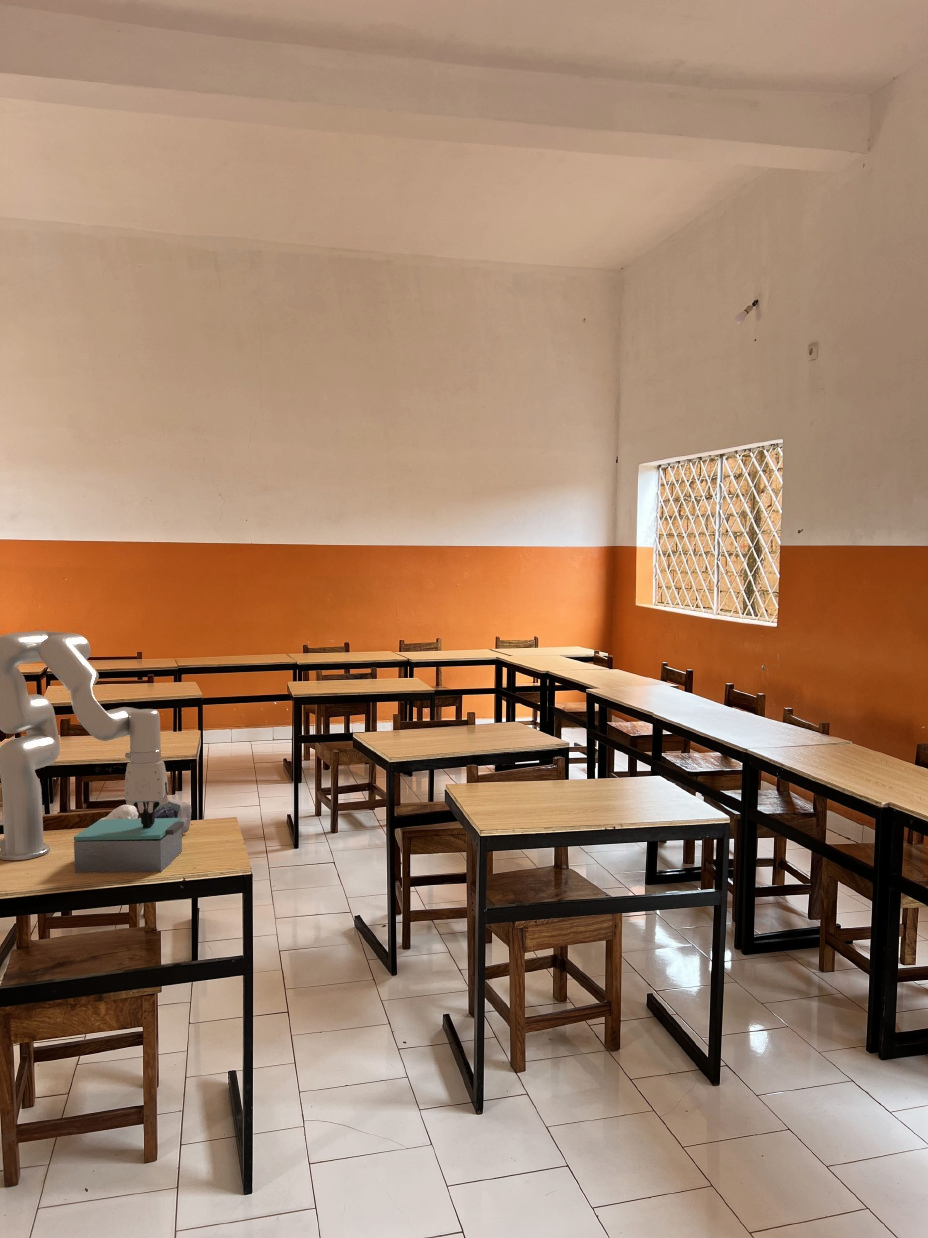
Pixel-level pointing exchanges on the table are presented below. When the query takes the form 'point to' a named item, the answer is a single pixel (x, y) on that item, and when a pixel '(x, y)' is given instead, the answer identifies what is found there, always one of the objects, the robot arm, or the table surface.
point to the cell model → (175, 812)
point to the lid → (129, 829)
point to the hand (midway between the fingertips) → (148, 826)
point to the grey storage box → (127, 854)
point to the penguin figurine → (123, 813)
